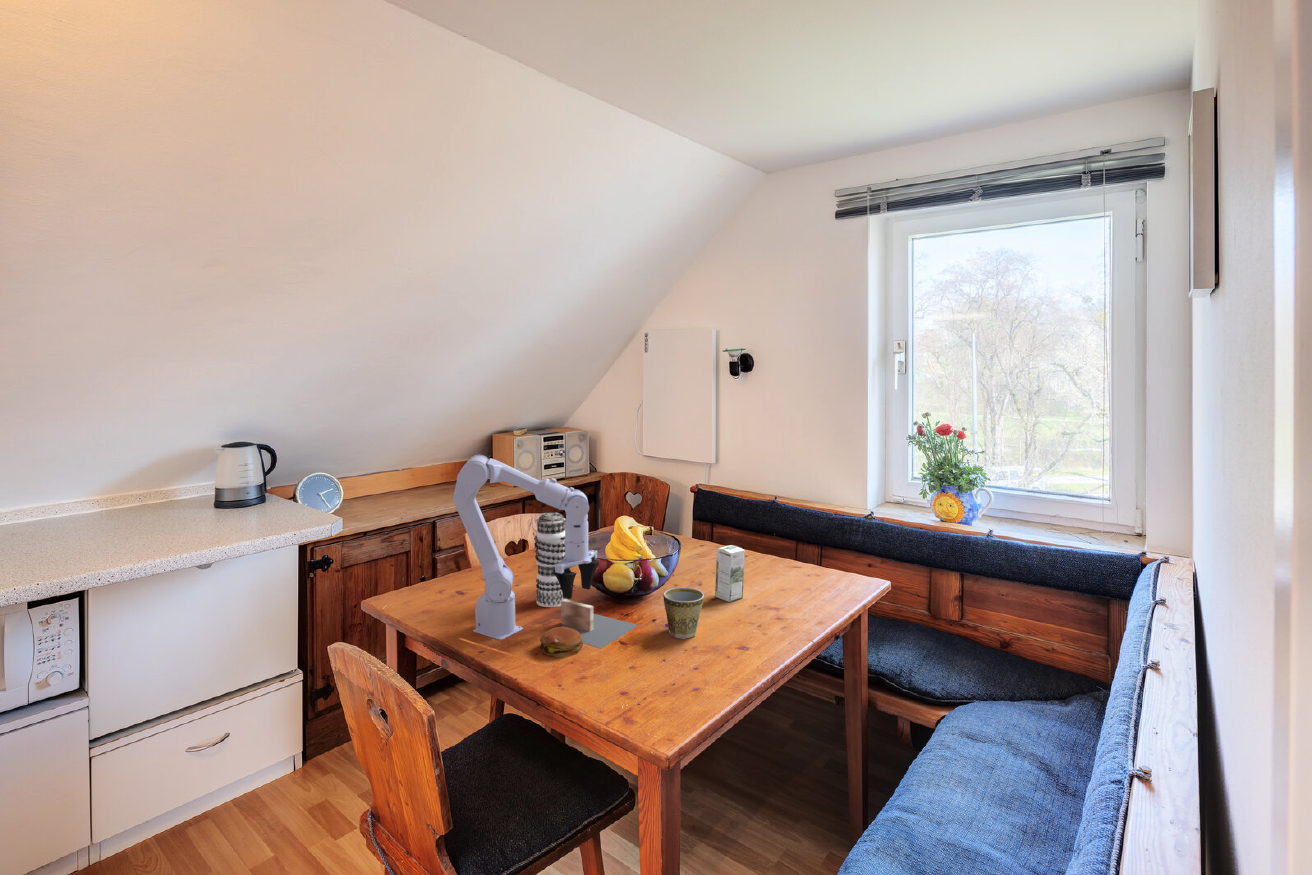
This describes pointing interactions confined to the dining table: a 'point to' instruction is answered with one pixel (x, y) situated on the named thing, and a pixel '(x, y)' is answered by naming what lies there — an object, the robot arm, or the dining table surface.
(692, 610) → the ceramic cup
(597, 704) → the dining table surface
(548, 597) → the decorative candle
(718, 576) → the syrup box
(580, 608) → the tile
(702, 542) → the dining table surface
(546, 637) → the burger
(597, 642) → the mat
